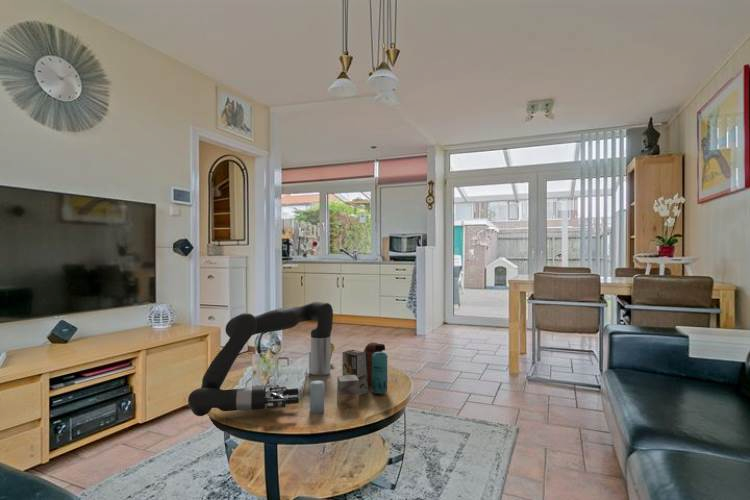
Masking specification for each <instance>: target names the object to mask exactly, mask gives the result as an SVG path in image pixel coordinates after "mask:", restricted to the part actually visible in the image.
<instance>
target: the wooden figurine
mask: <svg viewBox="0 0 750 500" xmlns="http://www.w3.org/2000/svg"><path fill="white" fill-rule="evenodd" d="M376 344H379V343H378V342H370V343H367V345H366V346H365V348H364V349H363V351H362V352H365V353H367V358H368V386H370V387H372V386H371V379H372V377H371V376H372V374H371V373H372V355H373V354H374V353H375V352H383V351H377V350H375V345H376Z"/></svg>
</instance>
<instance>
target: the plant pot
mask: <svg viewBox="0 0 750 500" xmlns="http://www.w3.org/2000/svg"><path fill="white" fill-rule="evenodd" d="M334 351H335V343H332V342H331V349H330V362H331V361H332V356H333V353H334Z"/></svg>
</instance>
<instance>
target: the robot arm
mask: <svg viewBox="0 0 750 500" xmlns="http://www.w3.org/2000/svg"><path fill="white" fill-rule="evenodd" d="M333 318H334V310H333V306H332V305H331V303H330V302H329V303H328V302H324V301H323V302H322V301H313V302H310V303H307V304H303V305H297V306H289V307H282V308H276V309H273V310H269V311H267V312H264V313H261V314H259V315H253V314H252V313H251V312H250V313H249V312H244V313H240V314H239V315H236V316H234V317H232V318H231V319H230V320H229V321H227V323H226V324H225V334H226V336H228V338H229V339H228V341H227V342H226V343H225V345H224V346H223V347H222V348H221V350H220V351H219V352H218V354H216V355H215V357H214V358H213V359H212V361H211V362H210V364H209V366H208V367H207V370H206V371H205V373H204V374H203V377H202V379H201V382H202V383H201V387H199V388H196V389H194V390H192V392H190V393H189V395H188V397H187V403H188V406H189V407H190V410H191V412H192V414H194V415H195V416H197V417H204V416H206V415H208V414H209V412H211V410H212V409H218V410H220V411H221V412H232V411H240V412H241V411H245V412H246V411H259V410H260V411H261V410H265V409H266V407H267V409H276V408H279V409H280V408H286V406H287V405H293V404H294V405H295V404H299V402H300V400H299V399H300V398H299V396H298V395H299V388H296V387H295V388H288V387H287V386H276V387H269V391H267V390H266V386H253V387H250V386H249V387H242V388H235V389H234V388H233V389H223V388H221V386H222V385H223V383H224V382H225V380H226V378H227V376H228V375H229V372H230V371H231V368H232V366H233V364H234V363H235V361H236V359H237V358H238V356H239V354H240V353H241V351H242V350H243V348H244V347H245V345H246V344H247V342H248V341H250V339H251V337H252V336H254V335H258V334H264V333H265V334H266V333H271V332H278V331H279V332H280V331H284V330H288V329H291V328H294V327H296V326H297V325H298V324H300V323H303V322H310V321H311V322H317V325H316V328H314V329H311V330H310V351H309V353H308V373H309V374H310V375H312V376H317V377H318V376H326V375H330V374H331V361H330V349H331V343H332V342H331V338H332V337H331V334H332V330H333V322H334V320H333ZM266 405H267V406H266Z"/></svg>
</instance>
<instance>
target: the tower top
mask: <svg viewBox="0 0 750 500" xmlns="http://www.w3.org/2000/svg"><path fill="white" fill-rule="evenodd" d="M336 378H337V382H336V383H337V387H336V390H337V389H338V392H339V394H340V395H351V394H359V379H358V378H357V376H356V375H344V376H342V375H337V377H336Z"/></svg>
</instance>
